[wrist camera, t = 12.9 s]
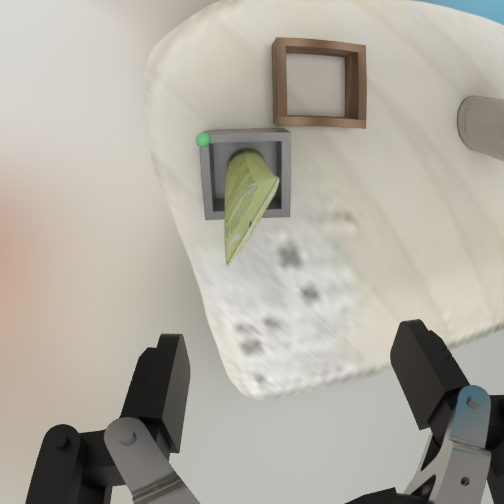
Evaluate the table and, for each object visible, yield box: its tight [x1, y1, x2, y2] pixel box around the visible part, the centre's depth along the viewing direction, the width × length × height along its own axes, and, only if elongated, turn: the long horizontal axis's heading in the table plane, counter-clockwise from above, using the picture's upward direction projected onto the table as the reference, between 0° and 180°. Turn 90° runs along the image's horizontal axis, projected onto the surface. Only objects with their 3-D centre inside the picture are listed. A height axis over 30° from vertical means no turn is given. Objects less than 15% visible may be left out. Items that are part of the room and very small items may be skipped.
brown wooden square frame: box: [272, 38, 367, 129], centre depth 32 cm, size 10×10×5 cm
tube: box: [225, 148, 279, 267], centre depth 30 cm, size 6×5×20 cm
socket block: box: [196, 128, 291, 220], centre depth 36 cm, size 10×10×7 cm
